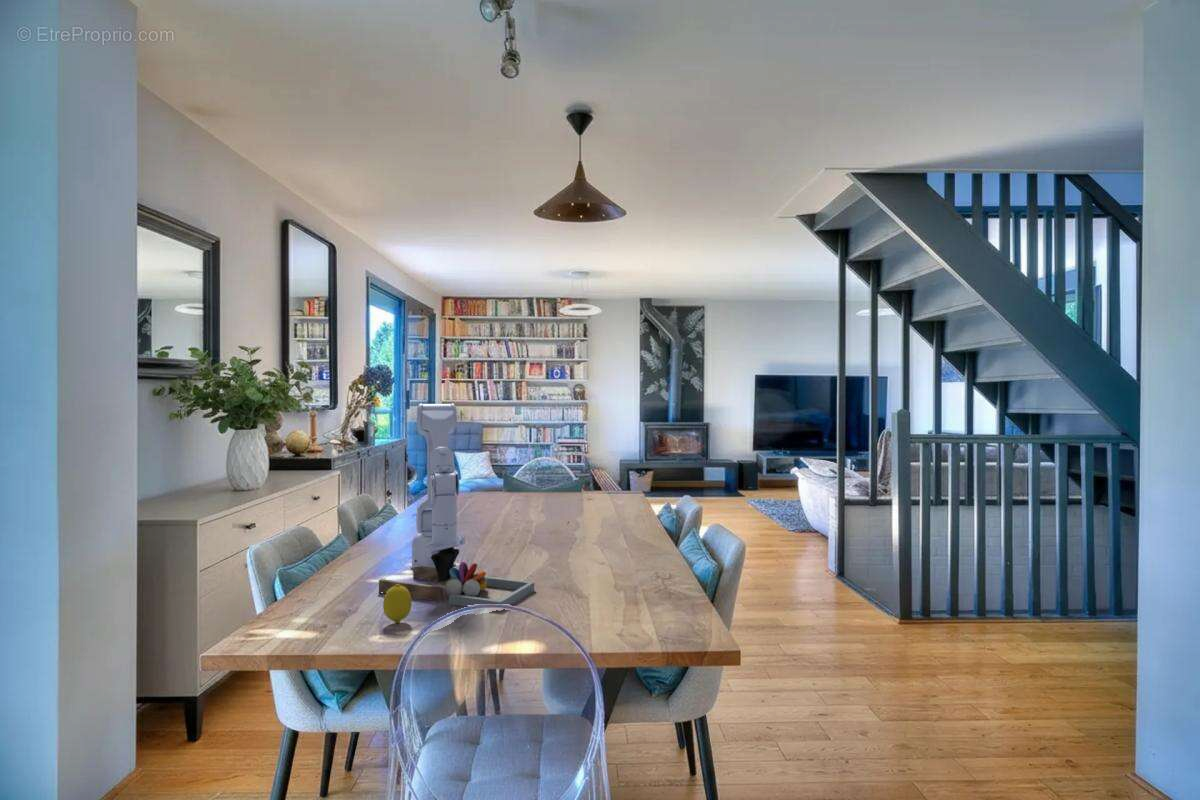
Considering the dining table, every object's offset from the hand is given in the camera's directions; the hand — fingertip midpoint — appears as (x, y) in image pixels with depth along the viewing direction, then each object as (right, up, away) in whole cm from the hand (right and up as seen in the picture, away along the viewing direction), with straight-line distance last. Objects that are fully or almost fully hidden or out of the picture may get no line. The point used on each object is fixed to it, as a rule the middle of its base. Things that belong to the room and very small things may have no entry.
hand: (444, 580), depth 157 cm
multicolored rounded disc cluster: (+6, -3, -2) cm, 6 cm away
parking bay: (+12, -3, -5) cm, 13 cm away
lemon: (-4, -3, -22) cm, 22 cm away
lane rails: (-4, -2, +2) cm, 5 cm away
